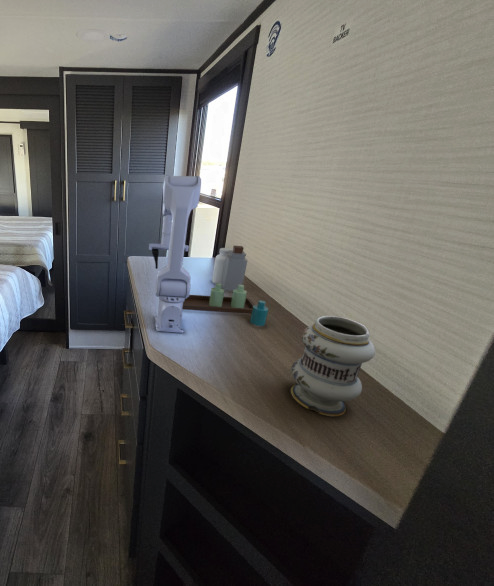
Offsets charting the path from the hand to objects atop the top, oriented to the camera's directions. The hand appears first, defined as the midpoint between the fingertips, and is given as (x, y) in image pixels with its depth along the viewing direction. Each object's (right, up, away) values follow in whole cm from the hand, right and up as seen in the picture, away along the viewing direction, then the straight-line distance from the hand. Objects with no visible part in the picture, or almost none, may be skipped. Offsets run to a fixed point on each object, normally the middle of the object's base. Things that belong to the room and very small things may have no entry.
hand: (166, 268), depth 120 cm
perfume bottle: (+28, -8, +9) cm, 31 cm away
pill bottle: (+27, -5, +16) cm, 32 cm away
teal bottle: (+24, -20, -21) cm, 38 cm away
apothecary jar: (+21, -32, -54) cm, 66 cm away
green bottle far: (+23, -14, -10) cm, 29 cm away
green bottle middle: (+15, -14, -9) cm, 23 cm away
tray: (+15, -15, -9) cm, 23 cm away
